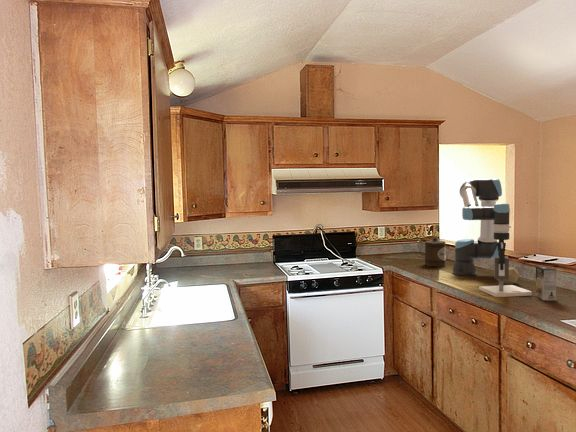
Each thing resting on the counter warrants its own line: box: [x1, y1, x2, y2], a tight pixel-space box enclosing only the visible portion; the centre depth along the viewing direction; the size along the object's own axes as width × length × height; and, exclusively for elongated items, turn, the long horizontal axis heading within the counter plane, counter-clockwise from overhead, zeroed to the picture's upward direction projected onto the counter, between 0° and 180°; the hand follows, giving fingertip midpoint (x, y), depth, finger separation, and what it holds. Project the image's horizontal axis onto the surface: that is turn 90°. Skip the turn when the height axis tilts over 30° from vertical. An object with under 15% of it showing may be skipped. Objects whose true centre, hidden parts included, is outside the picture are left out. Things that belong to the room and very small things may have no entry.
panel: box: [478, 281, 533, 298], centre depth 219 cm, size 16×20×7 cm
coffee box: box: [535, 265, 557, 301], centre depth 206 cm, size 9×6×16 cm
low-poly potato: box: [496, 266, 520, 285], centre depth 240 cm, size 15×11×12 cm
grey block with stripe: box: [493, 256, 510, 280], centre depth 215 cm, size 7×7×12 cm
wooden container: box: [424, 236, 446, 268], centre depth 304 cm, size 15×15×22 cm
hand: (501, 274), depth 215 cm, fingers closed on grey block with stripe, 7 cm apart
